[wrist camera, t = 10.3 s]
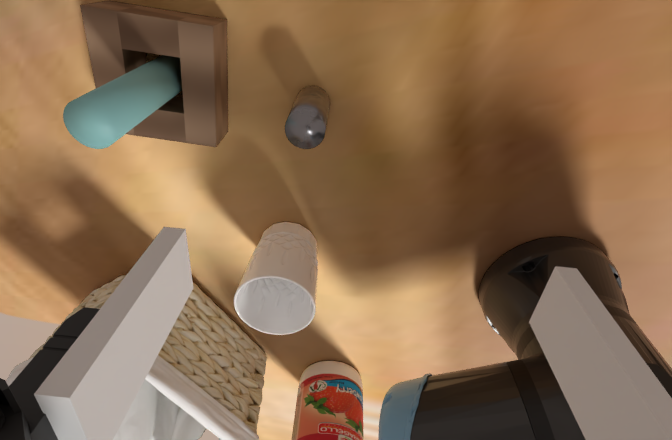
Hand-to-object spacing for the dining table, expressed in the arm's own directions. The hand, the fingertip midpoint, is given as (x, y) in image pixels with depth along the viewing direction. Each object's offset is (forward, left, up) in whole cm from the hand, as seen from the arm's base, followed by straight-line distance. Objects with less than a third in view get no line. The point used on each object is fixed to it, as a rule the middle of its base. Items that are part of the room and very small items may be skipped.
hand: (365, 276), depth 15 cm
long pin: (-1, +17, -26) cm, 31 cm away
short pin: (-2, +4, -26) cm, 27 cm away
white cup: (-19, +5, -27) cm, 33 cm away
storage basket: (-36, +19, -27) cm, 48 cm away
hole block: (-1, +17, -26) cm, 31 cm away
